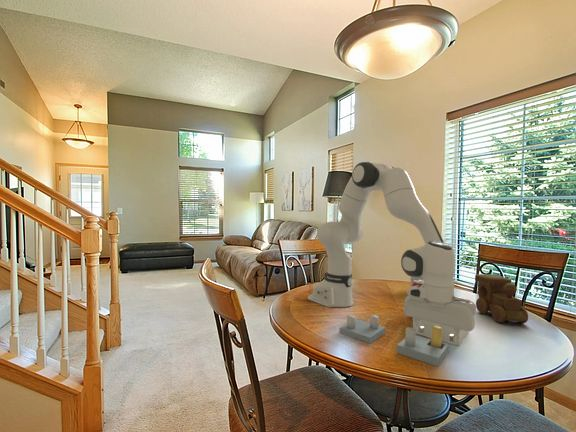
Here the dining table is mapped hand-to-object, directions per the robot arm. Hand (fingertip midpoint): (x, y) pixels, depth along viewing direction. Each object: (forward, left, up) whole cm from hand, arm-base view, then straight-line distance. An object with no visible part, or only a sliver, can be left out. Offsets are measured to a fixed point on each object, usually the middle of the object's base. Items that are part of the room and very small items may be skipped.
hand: (436, 336), depth 95 cm
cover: (-3, +18, -5) cm, 19 cm away
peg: (0, 0, -5) cm, 5 cm away
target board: (-3, -3, -5) cm, 7 cm away
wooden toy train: (+11, +53, -5) cm, 55 cm away
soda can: (-14, +30, -5) cm, 34 cm away
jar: (-26, +67, -5) cm, 72 cm away
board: (-24, -3, -5) cm, 25 cm away
